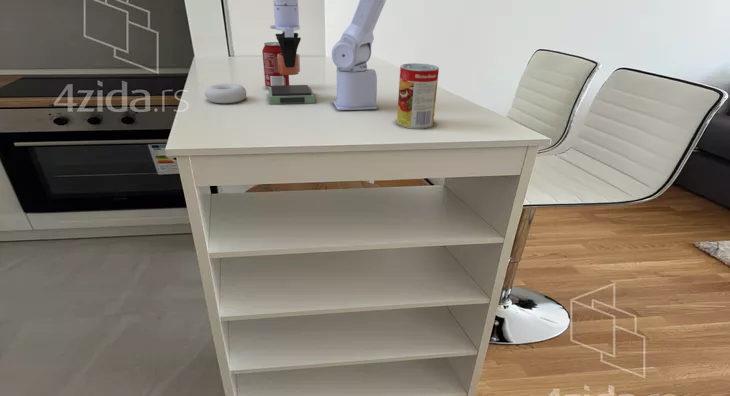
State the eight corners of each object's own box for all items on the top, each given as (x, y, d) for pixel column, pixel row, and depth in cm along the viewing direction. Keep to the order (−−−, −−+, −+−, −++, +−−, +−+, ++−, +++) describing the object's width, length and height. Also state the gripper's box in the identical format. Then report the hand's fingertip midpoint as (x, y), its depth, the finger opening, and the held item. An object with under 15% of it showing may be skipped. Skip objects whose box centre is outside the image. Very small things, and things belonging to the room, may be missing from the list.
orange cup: (299, 71, 109) (298, 53, 107) (300, 75, 105) (300, 56, 103) (277, 71, 108) (276, 53, 106) (278, 75, 104) (277, 56, 102)
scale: (310, 93, 116) (309, 84, 114) (314, 103, 106) (314, 93, 105) (269, 94, 113) (268, 85, 112) (269, 104, 103) (269, 94, 102)
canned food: (419, 116, 97) (424, 62, 92) (440, 126, 91) (446, 68, 85) (390, 120, 94) (393, 64, 88) (409, 130, 87) (414, 70, 82)
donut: (197, 103, 103) (236, 106, 101) (195, 89, 101) (234, 91, 100) (218, 94, 112) (254, 96, 110) (216, 81, 110) (252, 83, 108)
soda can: (287, 90, 117) (284, 45, 112) (262, 90, 117) (259, 44, 112) (291, 85, 123) (289, 42, 118) (268, 85, 123) (264, 41, 118)
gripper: (268, 3, 105) (271, 60, 111) (269, 6, 93) (273, 70, 99) (296, 4, 107) (299, 60, 113) (301, 7, 94) (304, 70, 100)
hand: (289, 65), depth 106 cm, fingers closed on orange cup, 5 cm apart
